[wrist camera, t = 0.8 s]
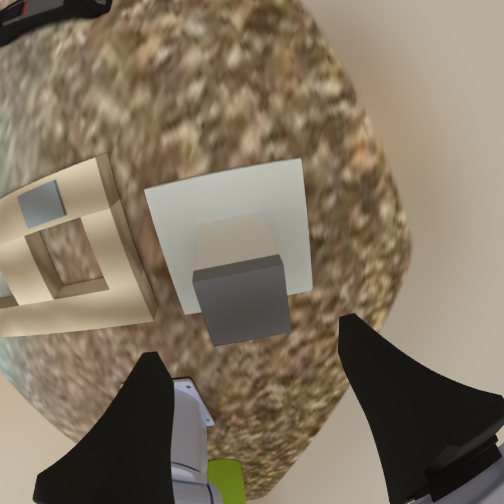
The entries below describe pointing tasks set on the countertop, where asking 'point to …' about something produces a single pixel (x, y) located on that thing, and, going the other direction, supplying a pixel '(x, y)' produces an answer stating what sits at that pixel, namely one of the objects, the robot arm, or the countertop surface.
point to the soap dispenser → (227, 480)
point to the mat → (229, 205)
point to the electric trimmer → (45, 13)
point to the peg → (240, 280)
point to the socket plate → (43, 271)
